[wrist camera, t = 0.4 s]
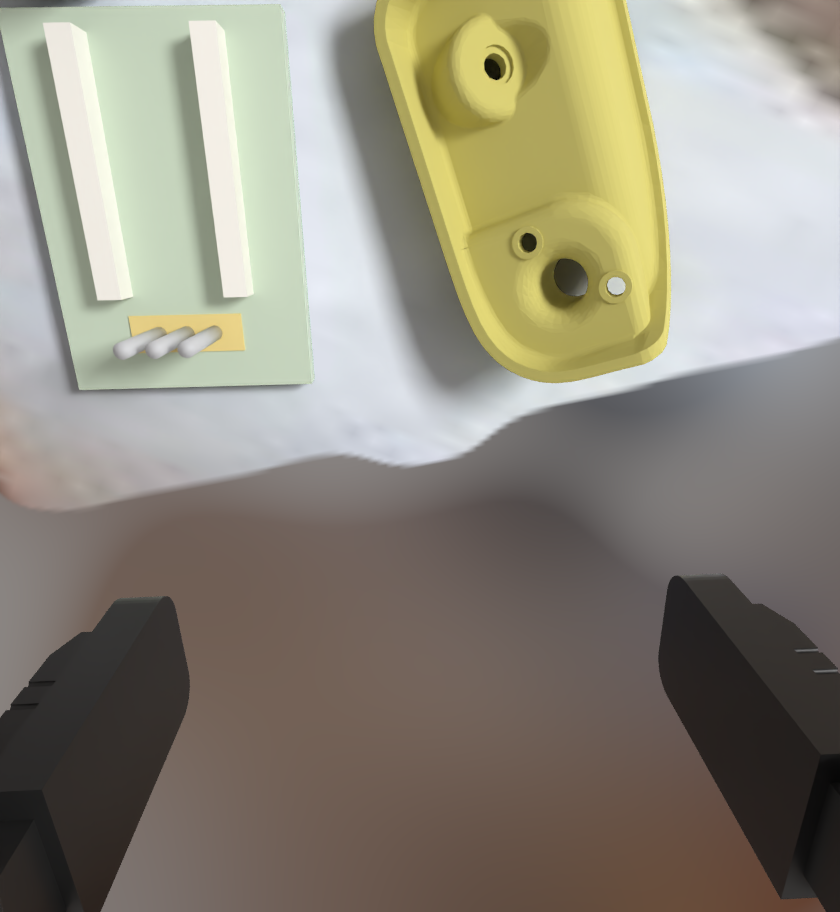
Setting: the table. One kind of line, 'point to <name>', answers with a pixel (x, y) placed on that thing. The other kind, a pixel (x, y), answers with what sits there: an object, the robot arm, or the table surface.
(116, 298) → the board
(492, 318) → the plastic component
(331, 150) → the table surface
